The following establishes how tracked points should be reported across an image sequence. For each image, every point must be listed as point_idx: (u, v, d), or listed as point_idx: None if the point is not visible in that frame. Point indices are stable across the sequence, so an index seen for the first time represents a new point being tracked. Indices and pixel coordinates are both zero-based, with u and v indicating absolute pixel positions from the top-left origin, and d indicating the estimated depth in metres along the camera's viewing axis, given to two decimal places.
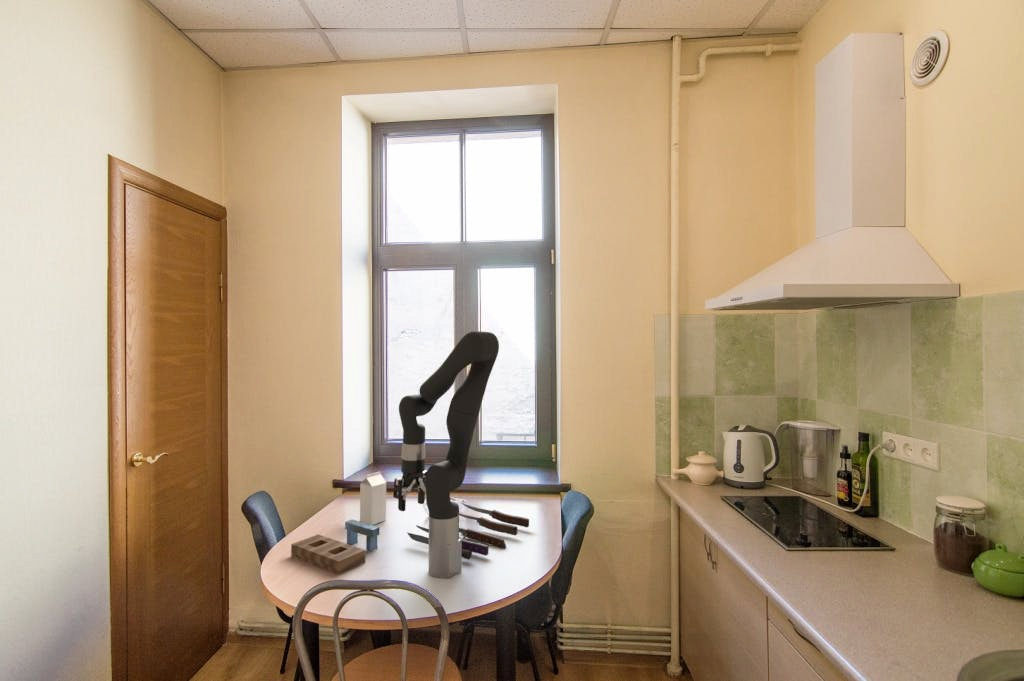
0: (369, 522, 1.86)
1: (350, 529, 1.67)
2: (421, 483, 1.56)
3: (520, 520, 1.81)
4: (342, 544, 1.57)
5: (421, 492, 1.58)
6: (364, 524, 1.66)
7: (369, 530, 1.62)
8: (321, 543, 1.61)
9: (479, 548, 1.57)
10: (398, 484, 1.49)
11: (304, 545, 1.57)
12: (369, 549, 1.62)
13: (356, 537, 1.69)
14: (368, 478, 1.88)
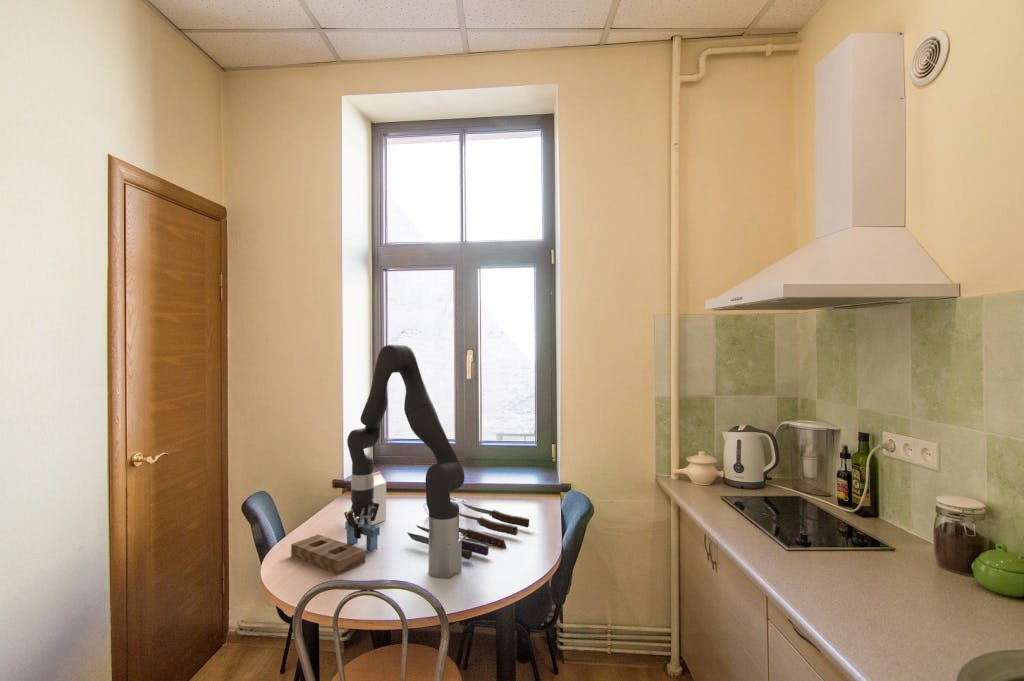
0: None
1: (350, 529, 1.67)
2: (369, 512, 1.67)
3: (520, 520, 1.81)
4: (342, 544, 1.57)
5: None
6: (364, 524, 1.66)
7: (369, 530, 1.62)
8: (321, 543, 1.61)
9: (479, 548, 1.57)
10: (348, 517, 1.61)
11: (304, 545, 1.57)
12: (369, 549, 1.62)
13: None
14: None
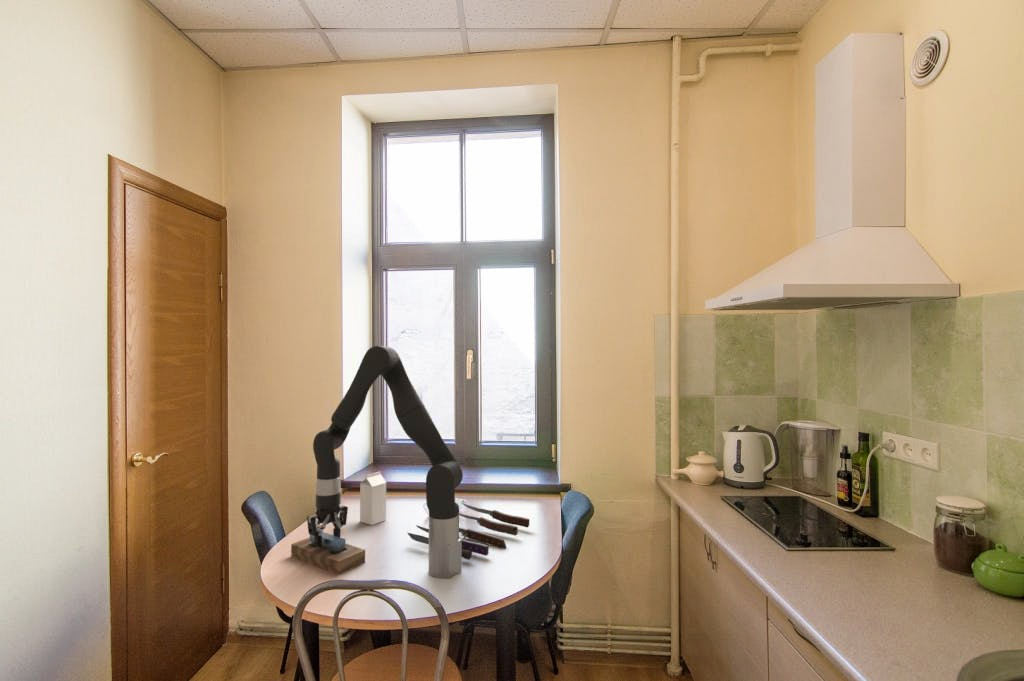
0: (369, 522, 1.86)
1: None
2: (336, 518, 1.57)
3: (520, 520, 1.81)
4: None
5: (336, 529, 1.58)
6: (329, 536, 1.55)
7: (334, 542, 1.51)
8: None
9: (479, 548, 1.57)
10: (311, 522, 1.50)
11: (304, 545, 1.57)
12: None
13: None
14: (368, 478, 1.88)
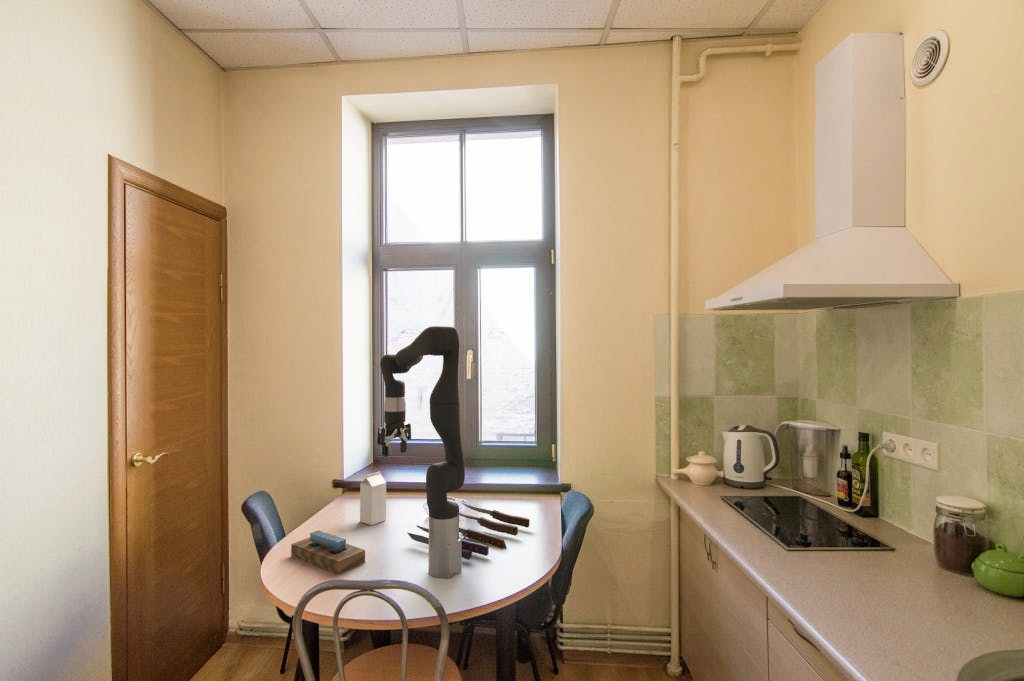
0: (369, 522, 1.86)
1: (315, 541, 1.57)
2: (402, 433, 1.75)
3: (520, 520, 1.81)
4: None
5: (403, 442, 1.77)
6: (330, 536, 1.55)
7: (334, 542, 1.52)
8: None
9: (479, 548, 1.57)
10: (381, 432, 1.68)
11: (304, 545, 1.57)
12: None
13: None
14: (368, 478, 1.88)
